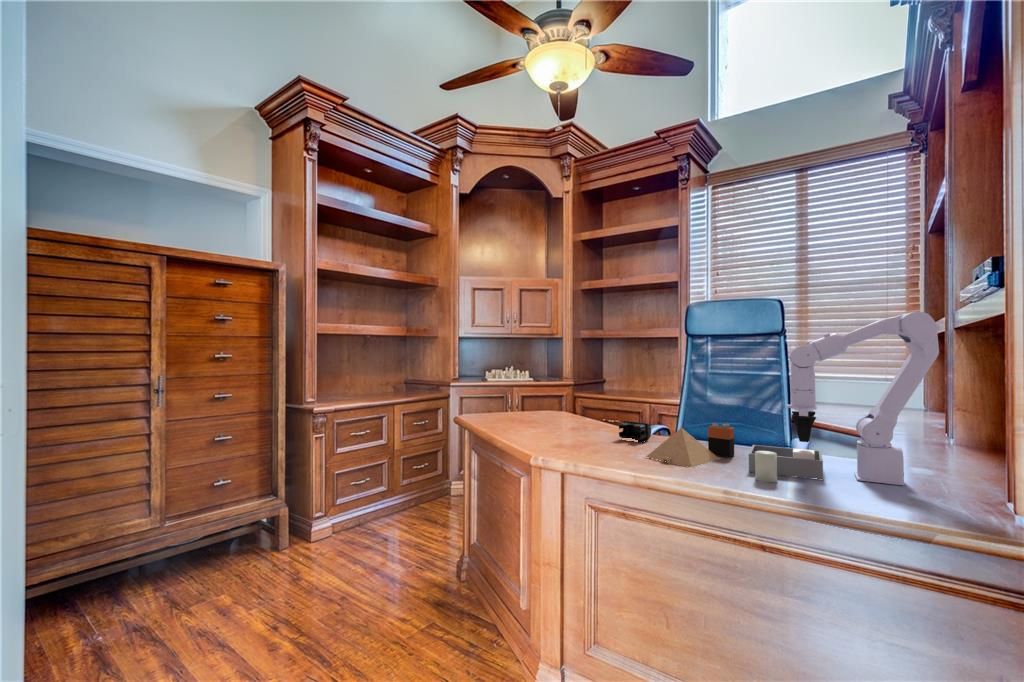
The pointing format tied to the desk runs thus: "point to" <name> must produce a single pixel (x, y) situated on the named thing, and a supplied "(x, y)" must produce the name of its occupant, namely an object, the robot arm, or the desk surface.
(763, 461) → the cylinder
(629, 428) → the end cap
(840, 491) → the desk surface
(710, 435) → the battery
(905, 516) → the desk surface
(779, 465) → the tote
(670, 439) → the model pyramid
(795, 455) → the cube
